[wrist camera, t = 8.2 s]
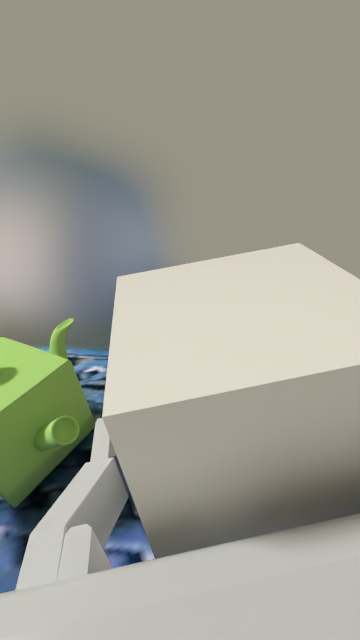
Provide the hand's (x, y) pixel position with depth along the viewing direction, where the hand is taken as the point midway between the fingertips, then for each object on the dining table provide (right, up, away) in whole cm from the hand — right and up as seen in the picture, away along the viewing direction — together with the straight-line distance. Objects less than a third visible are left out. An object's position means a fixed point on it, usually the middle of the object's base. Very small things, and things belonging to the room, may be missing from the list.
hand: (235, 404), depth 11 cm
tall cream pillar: (+1, -5, +2) cm, 6 cm away
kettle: (-16, -10, +22) cm, 29 cm away
